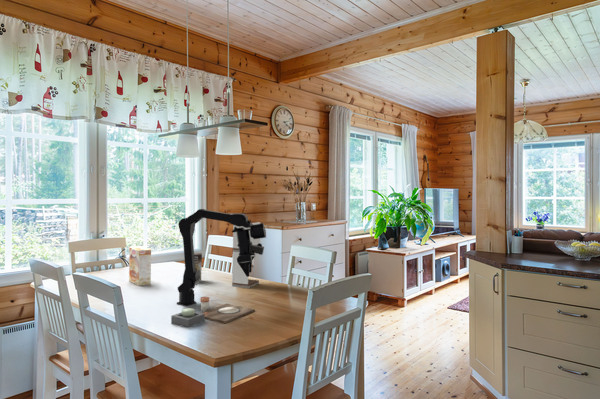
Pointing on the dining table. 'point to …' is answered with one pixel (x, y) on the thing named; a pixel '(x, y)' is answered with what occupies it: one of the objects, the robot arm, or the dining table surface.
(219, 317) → the colouring board
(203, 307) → the mushroom
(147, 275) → the coffeecake box
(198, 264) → the coffee box
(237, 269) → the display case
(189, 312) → the button
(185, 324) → the button housing
